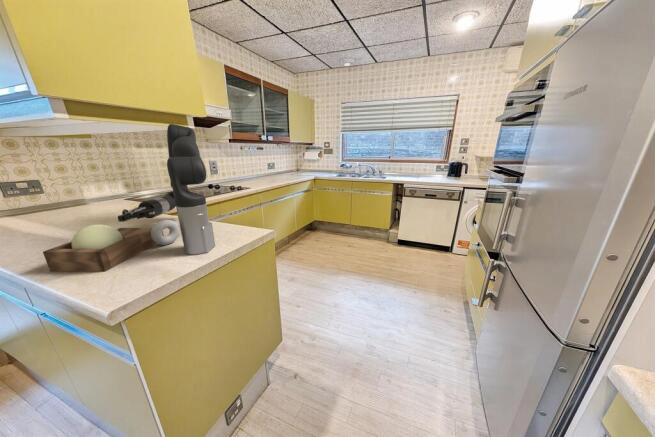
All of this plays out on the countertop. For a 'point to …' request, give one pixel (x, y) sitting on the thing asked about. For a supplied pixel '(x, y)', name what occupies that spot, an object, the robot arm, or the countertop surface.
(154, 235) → the donut
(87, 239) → the melon
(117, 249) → the wooden serving tray
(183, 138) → the robot arm
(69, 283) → the countertop surface
